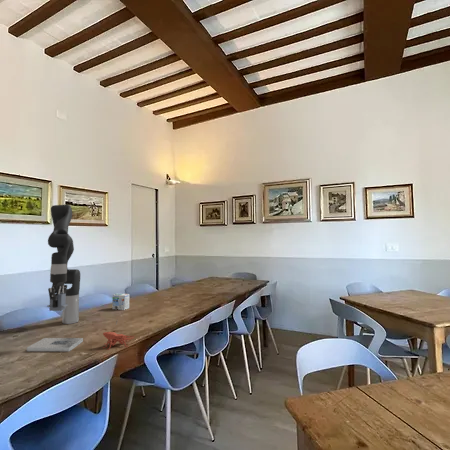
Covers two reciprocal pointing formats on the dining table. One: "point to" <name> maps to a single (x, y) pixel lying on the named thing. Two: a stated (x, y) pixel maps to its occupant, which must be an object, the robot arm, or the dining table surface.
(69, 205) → the robot arm
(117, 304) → the light bulb box
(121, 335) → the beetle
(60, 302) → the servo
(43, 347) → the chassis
